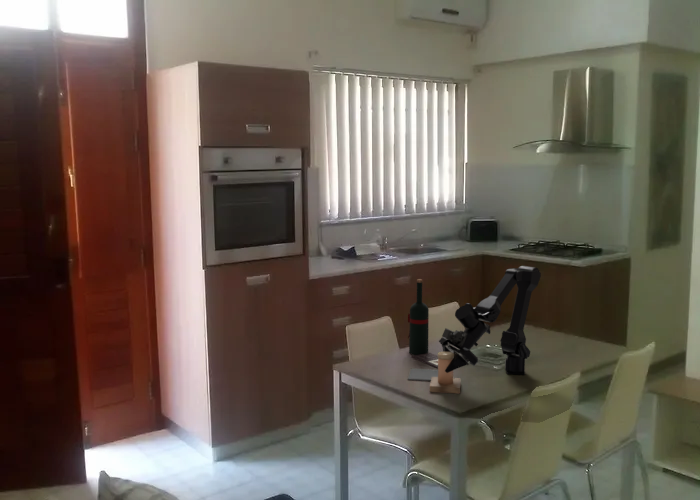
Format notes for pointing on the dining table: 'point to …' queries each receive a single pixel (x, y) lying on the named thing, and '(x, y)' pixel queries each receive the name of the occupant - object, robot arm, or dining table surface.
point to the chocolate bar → (428, 359)
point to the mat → (422, 374)
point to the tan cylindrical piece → (443, 362)
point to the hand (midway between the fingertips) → (442, 369)
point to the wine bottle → (418, 324)
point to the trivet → (445, 386)
